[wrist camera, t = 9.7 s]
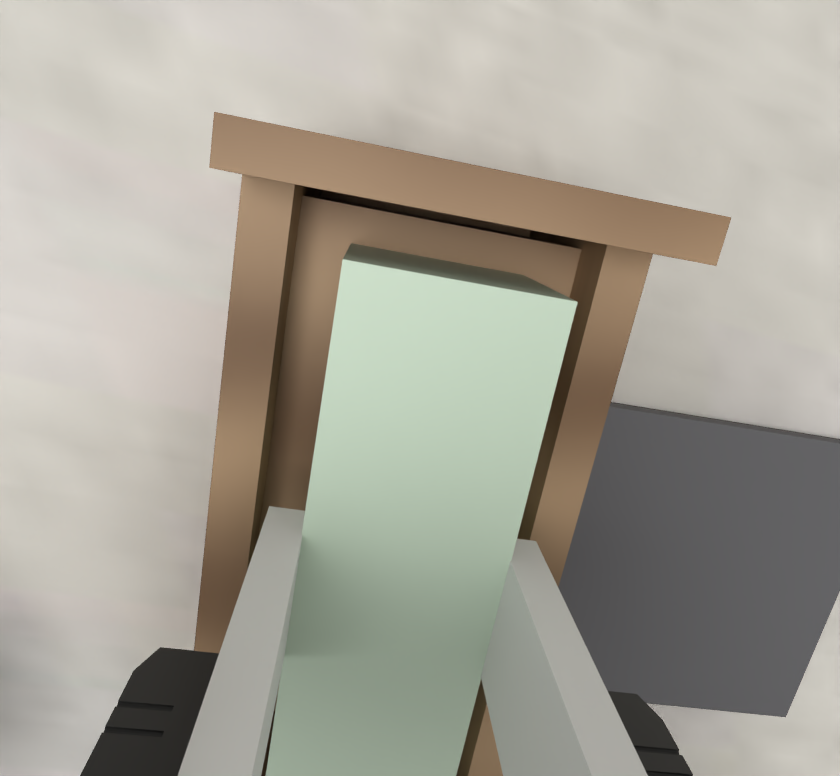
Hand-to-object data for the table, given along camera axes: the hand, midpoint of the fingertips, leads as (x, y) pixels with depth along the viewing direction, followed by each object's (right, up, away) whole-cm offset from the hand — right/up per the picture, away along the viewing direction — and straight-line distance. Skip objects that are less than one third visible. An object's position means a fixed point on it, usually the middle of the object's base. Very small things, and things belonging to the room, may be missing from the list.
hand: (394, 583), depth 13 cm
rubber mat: (+11, -3, +11) cm, 16 cm away
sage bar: (-1, -1, +3) cm, 4 cm away
